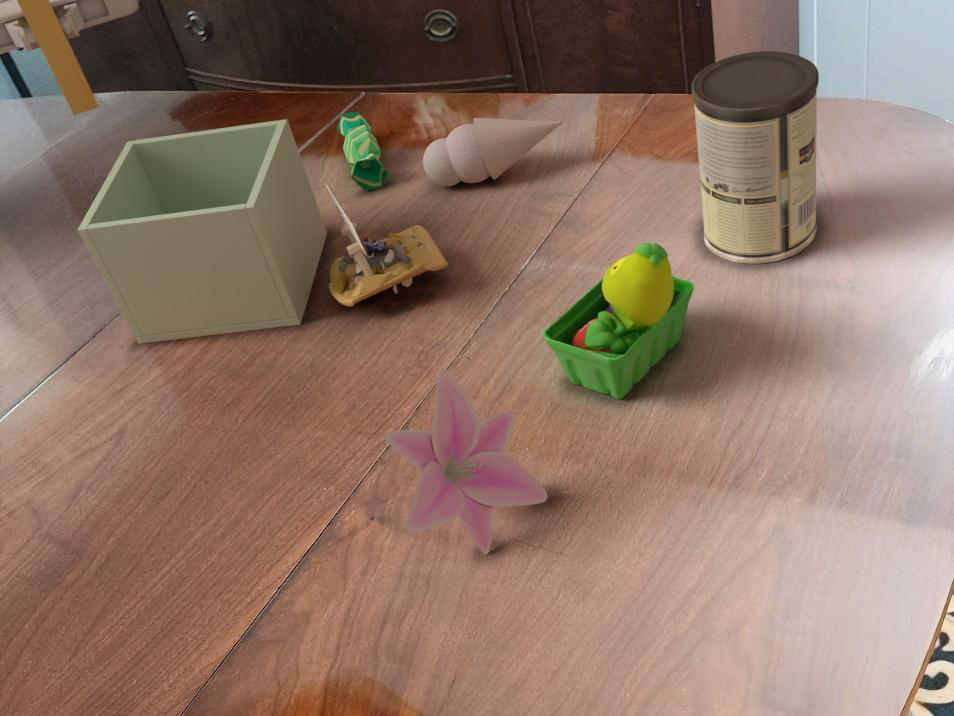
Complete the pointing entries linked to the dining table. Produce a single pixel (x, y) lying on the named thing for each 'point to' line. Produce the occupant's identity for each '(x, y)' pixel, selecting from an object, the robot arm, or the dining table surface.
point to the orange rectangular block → (59, 54)
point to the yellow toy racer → (380, 261)
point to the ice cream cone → (482, 149)
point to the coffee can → (757, 155)
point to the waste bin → (207, 232)
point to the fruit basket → (622, 323)
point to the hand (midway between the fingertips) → (50, 36)
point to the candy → (362, 151)
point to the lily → (463, 466)
